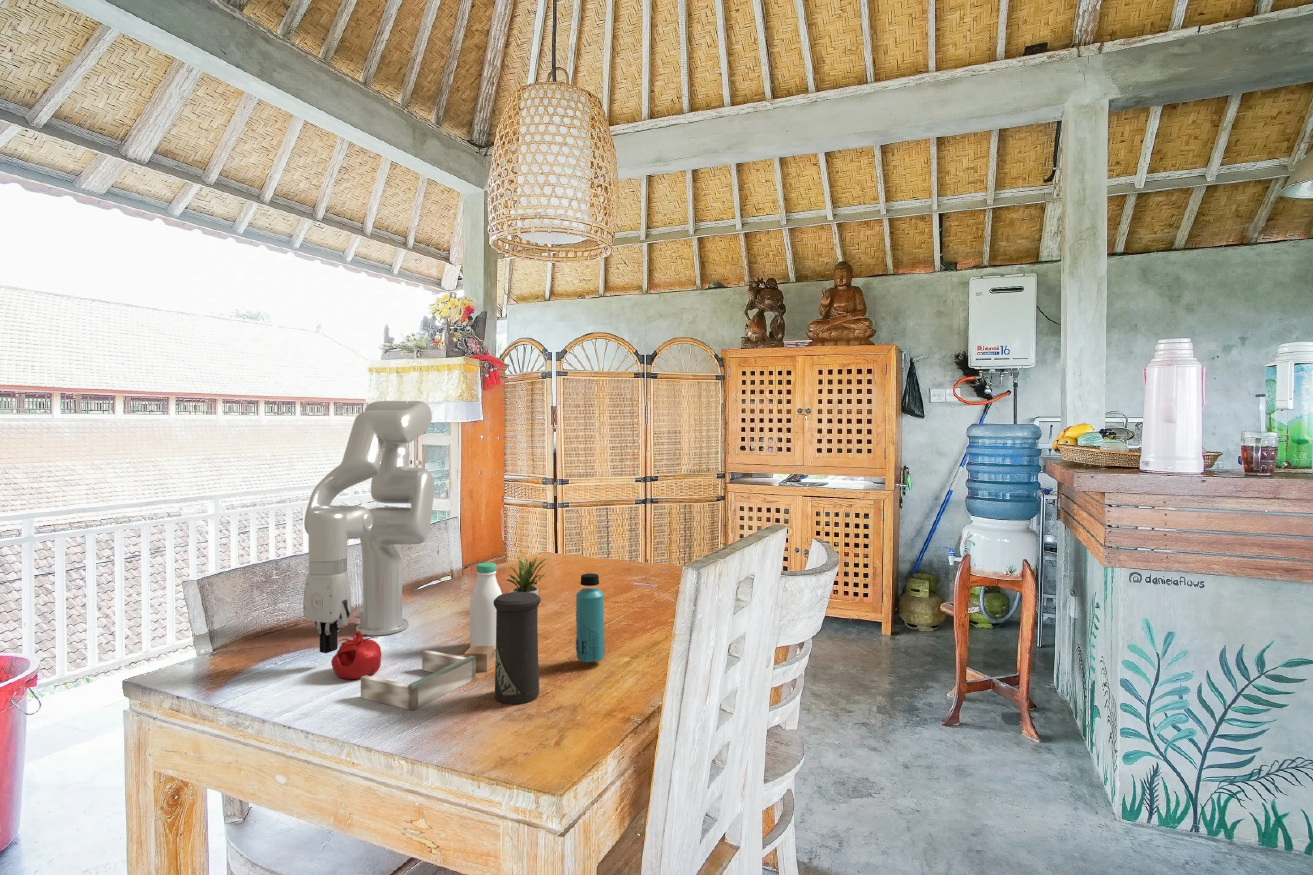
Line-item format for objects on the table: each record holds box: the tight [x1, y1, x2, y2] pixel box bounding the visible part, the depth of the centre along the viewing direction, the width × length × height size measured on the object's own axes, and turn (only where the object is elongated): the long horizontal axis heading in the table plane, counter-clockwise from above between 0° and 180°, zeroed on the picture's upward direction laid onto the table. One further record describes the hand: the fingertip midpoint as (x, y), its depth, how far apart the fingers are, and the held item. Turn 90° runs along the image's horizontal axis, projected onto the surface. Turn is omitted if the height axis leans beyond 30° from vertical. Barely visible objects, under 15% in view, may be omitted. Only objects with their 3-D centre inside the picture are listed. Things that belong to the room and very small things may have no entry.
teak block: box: [463, 646, 495, 673], centre depth 143 cm, size 5×5×4 cm
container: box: [494, 591, 541, 705], centre depth 128 cm, size 9×9×20 cm
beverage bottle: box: [575, 572, 606, 663], centre depth 145 cm, size 6×7×20 cm
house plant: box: [503, 553, 551, 596], centre depth 187 cm, size 14×14×16 cm
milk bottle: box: [469, 562, 503, 652], centre depth 156 cm, size 8×8×20 cm
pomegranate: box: [330, 631, 382, 680], centre depth 139 cm, size 10×10×9 cm
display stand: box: [360, 649, 477, 711], centre depth 132 cm, size 14×17×5 cm
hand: (328, 650), depth 143 cm, fingers closed
